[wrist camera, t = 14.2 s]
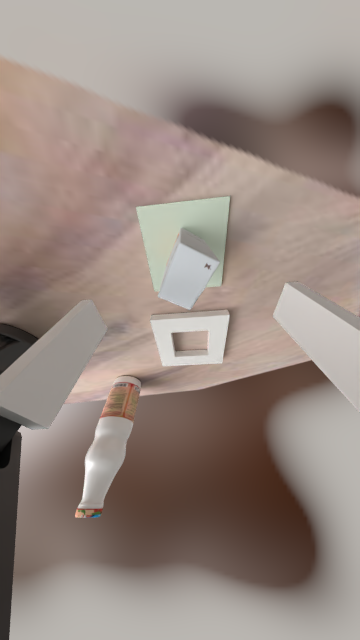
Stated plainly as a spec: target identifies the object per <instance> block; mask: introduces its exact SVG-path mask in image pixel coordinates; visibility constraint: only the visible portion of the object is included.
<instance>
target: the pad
mask: <svg viewBox="0 0 360 640" xmlns="http://www.w3.org/2000/svg"><path fill="white" fill-rule="evenodd" d="M229 203H230V196H226V197H218V198H209V199H200V200H192V201H183V202H174V203H166V204H157V205H149V206H140V207H136V210H137V214H138V219H139V224H140V228H141V233H142V237H143V242H144V246H145V251H146V255H147V260H148V265H149V269H150V274H151V278H152V283H153V287H154V291H159V290H160V286H161V282H162V279H163V275H164V271H165V268H166V264H167V262H168V259H169V257H170V254H171V251H172V249H173V246H174V244H175V241H176V239H177V236H178V234H179V231H180V228H181V227H182V228H183V229H185V230H187V231H189V232H191V233H193V234H194V235H196V236H198V237H200V238H201V239H203V240H205V242H206V243H207V245H208V246H209V247H210V249H211V250H212V251H213V253H214V254H215V256H216V257H217V258H218V260H219V261H220V264H219V265H218V267H217V269H216V270H215V272H214V273H213V275H212V277H211V278H210V280H209V282H208V283H207V285H206V287H216V286H221V284H222V274H223V264H224V253H225V243H226V233H227V223H228V213H229Z"/></svg>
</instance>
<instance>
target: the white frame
mask: <svg viewBox="0 0 360 640" xmlns="http://www.w3.org/2000/svg"><path fill="white" fill-rule="evenodd" d="M229 317H230V314H229V312H228V310H214V311H200V312H186V313H172V314H158V315H151V318H150V323H151V326H152V330H153V333H154V337H155V340H156V344H157V347H158V351H159V355H160V358H161V362H162V365H163V366H179V365H198V364H218V363H222V361H223V354H224V348H225V342H226V336H227V329H228V323H229ZM206 330H208V344H207V349H204V350H187V351H175V347H174V341H173V335H172V333H175V332H191V331H206Z"/></svg>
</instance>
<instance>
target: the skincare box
mask: <svg viewBox="0 0 360 640" xmlns="http://www.w3.org/2000/svg"><path fill="white" fill-rule="evenodd" d="M219 264H220V261H219V260H218V258H217V257H216V256H215V254H214V253H213V251H212V250H211V249H210V247H209V246H208V245H207V243H206V242H205V240H203V239H201V238H200V237H198V236H196V235H194V234H193V233H191V232H189V231H187V230H185V229H183V228H182V227H181V228H180V231H179V234H178V236H177V239H176V241H175V244H174V246H173V249H172V251H171V254H170V257H169V259H168V262H167V264H166V268H165V271H164V275H163V279H162V282H161V286H160V290H159V293H158V297H159V298H162V299H164V300H167V301H169V302H171V303H174V304H176V305H179V306H181V307H183V308H186V309H188V310H191V309H192V307H193V305H194V304H195V302H196V301H197V299H198V297H199V296H200V294H201V293H202V292H203V290H204V289H205V287H206V285H207V283H208V282H209V280H210V278H211V277H212V275H213V273H214V272H215V270H216V269H217V267H218V265H219Z"/></svg>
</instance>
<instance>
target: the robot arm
mask: <svg viewBox="0 0 360 640" xmlns="http://www.w3.org/2000/svg"><path fill="white" fill-rule="evenodd" d="M273 317H274V319H275V320H276V321H277V322H278V323H279V324H280V325H281V326H282V327H283V328H284V330H285V331H286V332H287V333H288V334H289V335H290V336H291V337H292V338H293V339H294V341H295V342H296V343H297V344H298V345H299V346H300V347H301V348H302V349H303V351H304V352H305V353H306V354H307V355H308V356H309V357H310V358H311V359H312V360H313V362H314V363H315V364H316V365H317V366H318V367H319V368H320V369H321V370H322V371H323V373H324V374H325V375H326V376H327V377H328V378H329V379H330V380H331V381H332V382H333V383H334V385H335V386H336V387H337V388H338V389H339V390H340V391H341V392H342V393H343V395H344V396H345V397H346V398H347V399H348V400H349V401H350V402H351V403H352V404H353V406H354V407H355V408H356V409H357V410H358V411H359V412H360V317H358V316H356V315H355V314H353V313H351V312H349V311H348V310H346V309H344V308H343V307H341V306H339V305H337V304H336V303H334V302H332V301H330V300H329V299H327V298H325V297H324V296H322V295H320V294H318V293H317V292H315V291H313V290H312V289H310V288H308V287H306V286H305V285H303V284H301V283H300V282H286V283H285V286H284V288H283V291H282V293H281V296H280V298H279V301H278V303H277V306H276V309H275V311H274V314H273ZM107 330H108V328H107V327H106V325H105V323H104V321H103V319H102V317H101V316H100V314H99V312H98V310H97V308H96V306H95V304H94V303H93V301H92V300H81V301H80V302H79V303H78V304H77V305H76V306H75V307H74V308H72V309H71V310H70V311H69V312H68V313H67V314H66V315H65V316H64V317H63V318H62V319H61V320H59V321H58V322H57V323H56V324H55V325H54V326H53V327H52V328H51V329H50V330H49V331H48V332H46V333H45V334H44V335H43V336H42V337H41V338H40V339H39V340H38V339H37V338H35V337H34V336H32V335H31V334H29V333H27V332H25V331H23V330H20V329H18V328H15V327H12V326H9V325H4V324H0V640H9V632H10V616H11V599H12V584H13V567H14V551H15V535H16V519H17V503H18V488H19V486H18V485H19V472H20V456H21V455H20V454H21V440H22V437H21V433H20V432H18V429H19V428H20V426H21V425H23V426H25V427H28V428H30V429H49V427H50V426H51V424H52V422H53V421H54V419H55V417H56V416H57V414H58V412H59V410H60V409H61V407H62V405H63V404H64V402H65V400H66V399H67V397H68V395H69V394H70V392H71V390H72V389H73V387H74V385H75V384H76V382H77V380H78V378H79V377H80V375H81V373H82V372H83V370H84V368H85V367H86V365H87V363H88V362H89V360H90V358H91V357H92V355H93V353H94V352H95V350H96V348H97V346H98V345H99V343H100V341H101V340H102V338H103V336H104V335H105V333H106V331H107Z"/></svg>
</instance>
